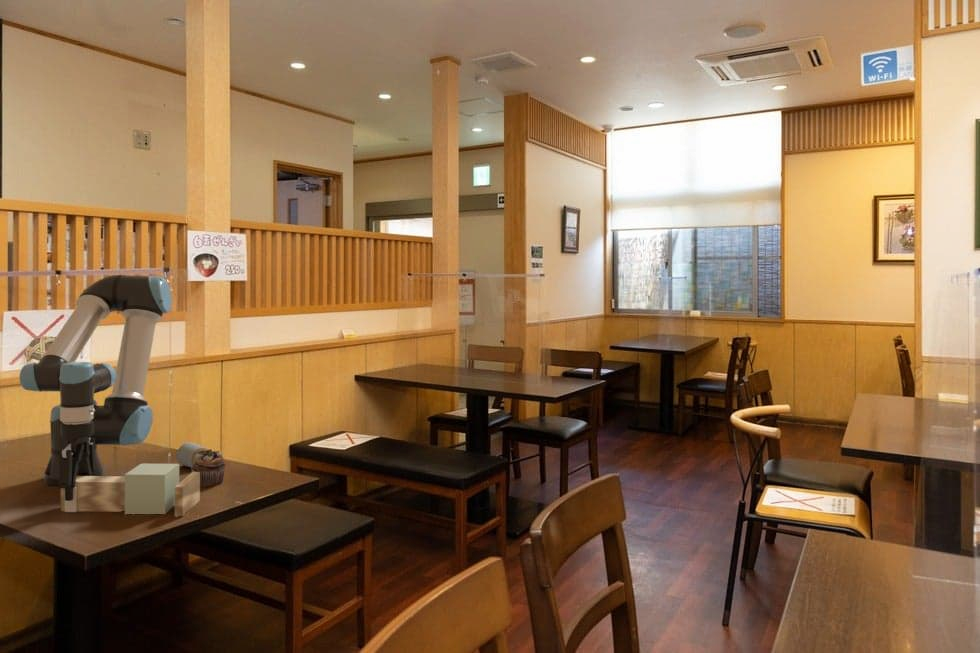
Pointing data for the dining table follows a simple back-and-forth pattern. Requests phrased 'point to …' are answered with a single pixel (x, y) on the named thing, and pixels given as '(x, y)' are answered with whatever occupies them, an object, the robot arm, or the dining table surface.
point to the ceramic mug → (189, 453)
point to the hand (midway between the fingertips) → (78, 506)
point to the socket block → (151, 488)
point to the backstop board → (187, 493)
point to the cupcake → (210, 467)
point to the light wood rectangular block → (98, 493)
